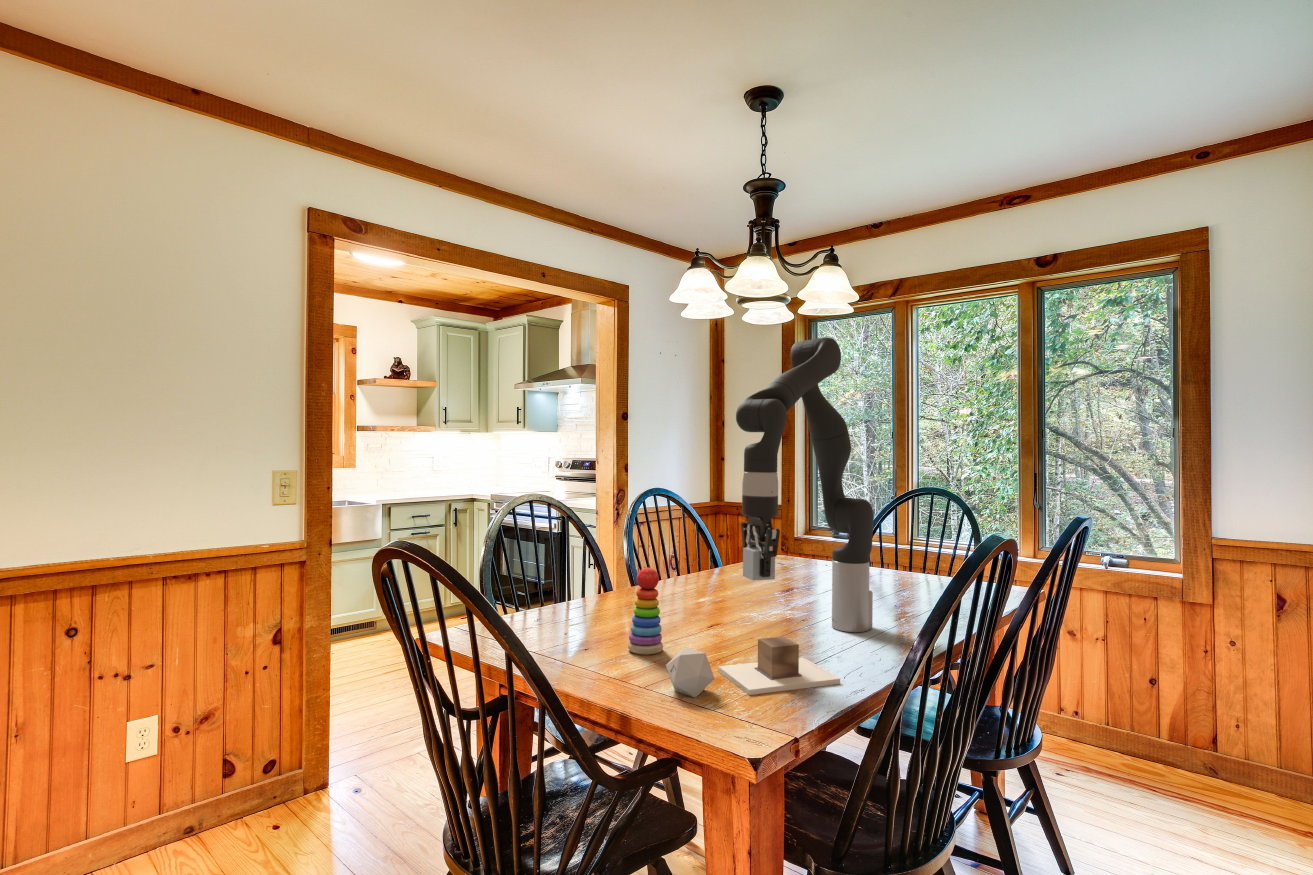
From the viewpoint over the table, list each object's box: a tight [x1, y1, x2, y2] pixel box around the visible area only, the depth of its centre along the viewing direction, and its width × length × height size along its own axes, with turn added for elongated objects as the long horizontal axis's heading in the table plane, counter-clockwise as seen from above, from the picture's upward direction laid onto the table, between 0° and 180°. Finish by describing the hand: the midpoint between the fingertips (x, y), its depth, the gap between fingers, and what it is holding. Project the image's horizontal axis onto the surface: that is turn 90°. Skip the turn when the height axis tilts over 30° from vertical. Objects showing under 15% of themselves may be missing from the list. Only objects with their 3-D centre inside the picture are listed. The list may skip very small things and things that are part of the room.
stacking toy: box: [627, 567, 664, 656], centre depth 157 cm, size 8×8×19 cm
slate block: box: [742, 547, 776, 581], centre depth 146 cm, size 5×5×6 cm
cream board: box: [717, 656, 841, 696], centre depth 140 cm, size 20×14×1 cm
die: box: [665, 647, 715, 698], centre depth 131 cm, size 8×9×10 cm
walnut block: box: [757, 636, 800, 678], centre depth 140 cm, size 6×6×6 cm
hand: (758, 573), depth 146 cm, fingers closed on slate block, 5 cm apart
